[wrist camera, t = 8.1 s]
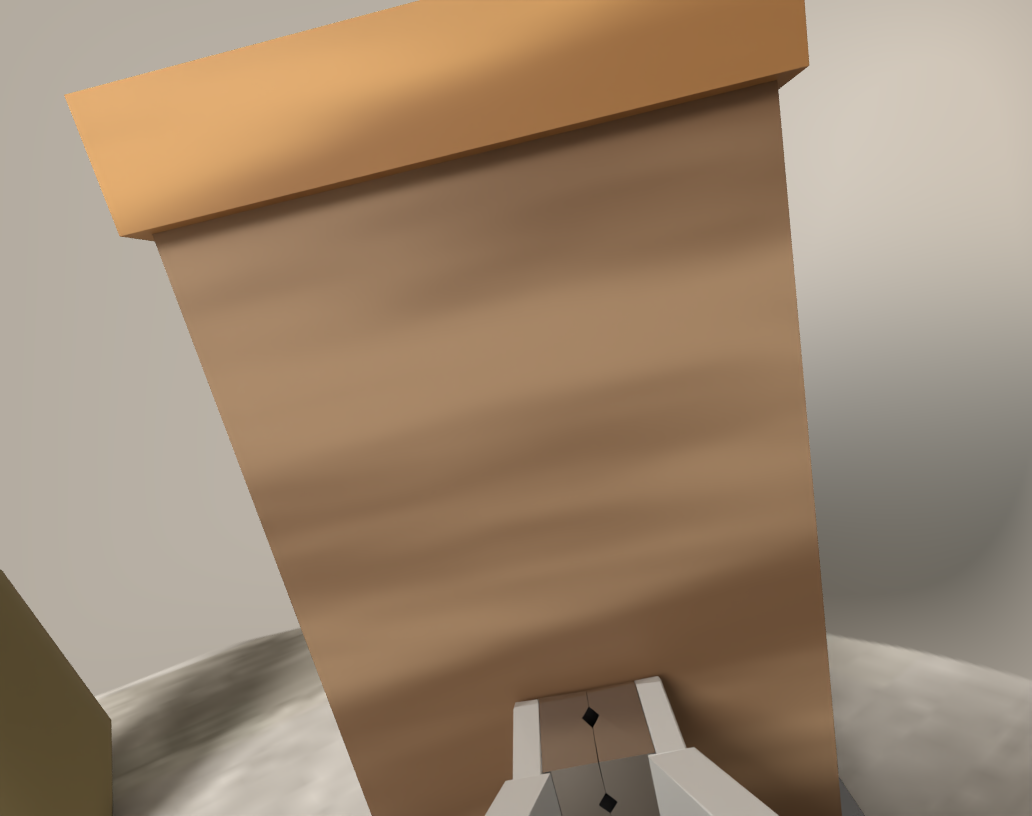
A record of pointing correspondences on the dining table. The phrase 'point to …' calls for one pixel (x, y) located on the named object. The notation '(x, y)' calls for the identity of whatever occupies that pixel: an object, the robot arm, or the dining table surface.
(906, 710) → the dining table surface
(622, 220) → the walnut paddle
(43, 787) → the squeeze bottle
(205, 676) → the dining table surface
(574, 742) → the robot arm
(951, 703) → the dining table surface
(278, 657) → the dining table surface
